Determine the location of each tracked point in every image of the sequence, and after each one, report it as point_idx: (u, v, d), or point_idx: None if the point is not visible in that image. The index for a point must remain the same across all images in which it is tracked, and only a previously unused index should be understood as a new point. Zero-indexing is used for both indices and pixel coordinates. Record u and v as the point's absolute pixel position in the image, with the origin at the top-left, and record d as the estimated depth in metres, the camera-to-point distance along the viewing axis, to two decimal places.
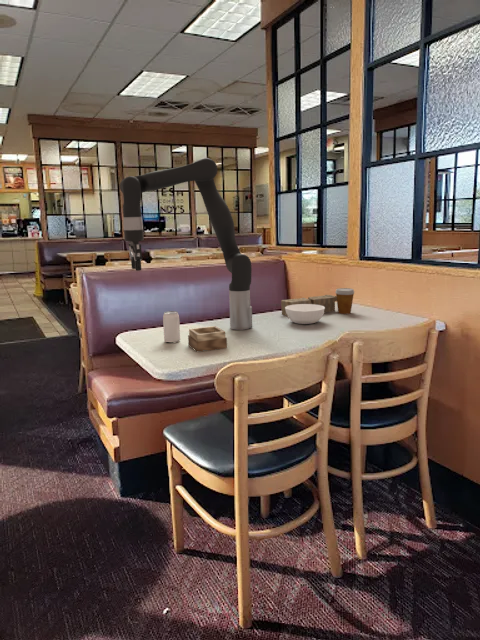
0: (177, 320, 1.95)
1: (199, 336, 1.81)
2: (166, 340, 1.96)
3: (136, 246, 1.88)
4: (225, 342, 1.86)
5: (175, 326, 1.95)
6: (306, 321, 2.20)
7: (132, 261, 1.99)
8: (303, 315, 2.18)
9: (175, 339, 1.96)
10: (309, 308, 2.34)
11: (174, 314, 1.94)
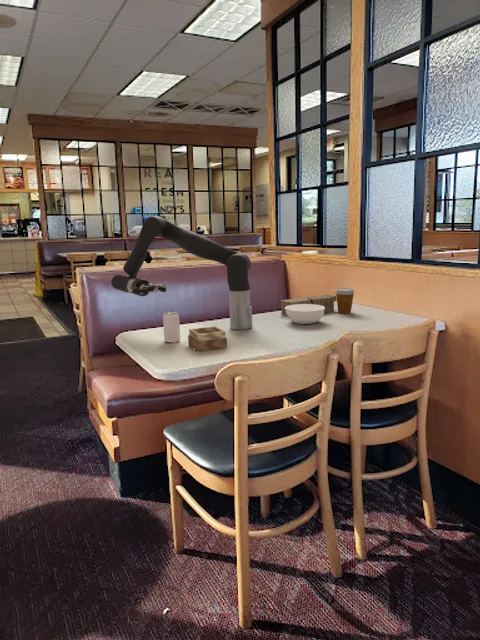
0: (177, 320, 1.95)
1: (199, 336, 1.81)
2: (166, 340, 1.96)
3: (131, 291, 2.07)
4: (225, 342, 1.86)
5: (175, 326, 1.95)
6: (306, 321, 2.20)
7: (161, 290, 2.08)
8: (303, 315, 2.18)
9: (175, 339, 1.96)
10: (309, 308, 2.34)
11: (174, 314, 1.94)
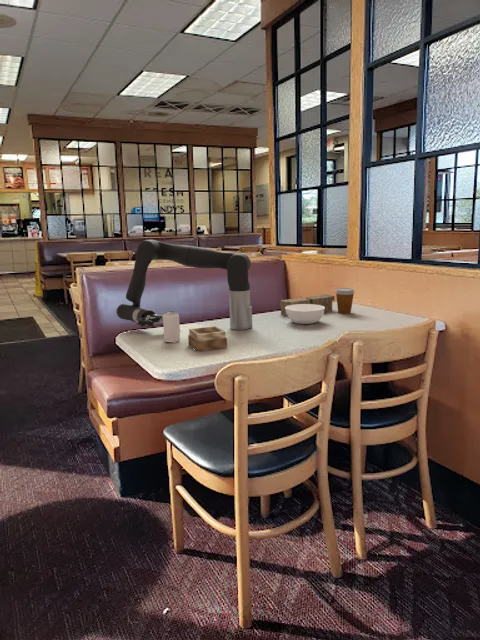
0: (177, 320, 1.95)
1: (199, 336, 1.81)
2: (166, 340, 1.96)
3: (136, 322, 2.07)
4: (225, 342, 1.86)
5: (175, 326, 1.95)
6: (306, 321, 2.20)
7: None
8: (303, 315, 2.18)
9: (175, 339, 1.96)
10: (309, 308, 2.34)
11: (174, 314, 1.94)
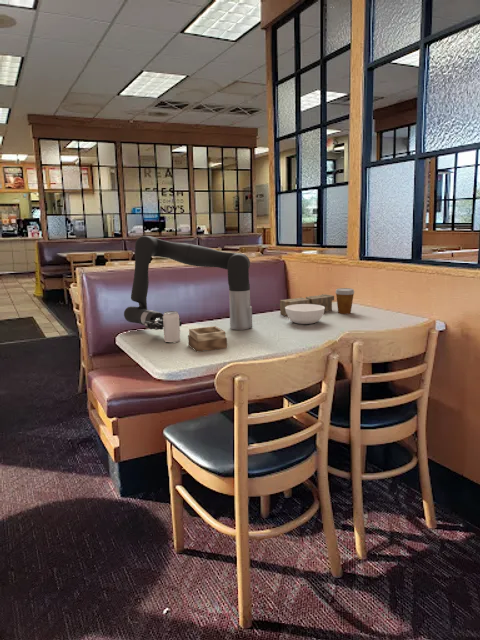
0: (177, 320, 1.95)
1: (199, 336, 1.81)
2: (166, 340, 1.96)
3: (145, 325, 2.01)
4: (225, 342, 1.86)
5: (175, 326, 1.95)
6: (306, 321, 2.20)
7: None
8: (303, 315, 2.18)
9: (175, 339, 1.96)
10: (309, 308, 2.34)
11: (174, 314, 1.94)
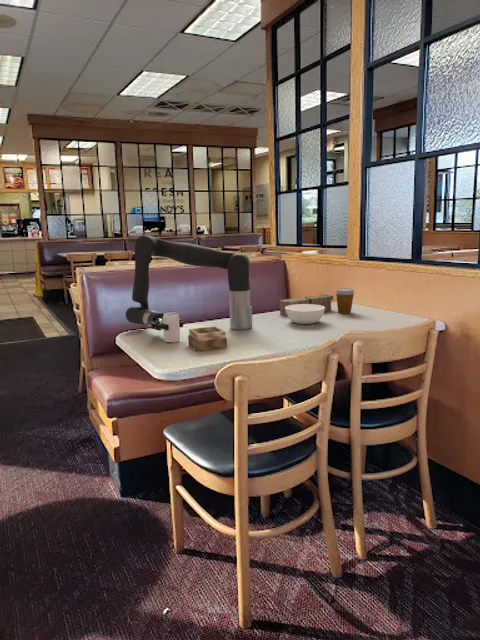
0: (177, 320, 1.95)
1: (199, 336, 1.81)
2: (166, 340, 1.96)
3: (149, 326, 1.99)
4: (225, 342, 1.86)
5: (175, 326, 1.95)
6: (306, 321, 2.20)
7: None
8: (303, 315, 2.18)
9: (175, 339, 1.96)
10: (309, 308, 2.34)
11: (174, 314, 1.94)
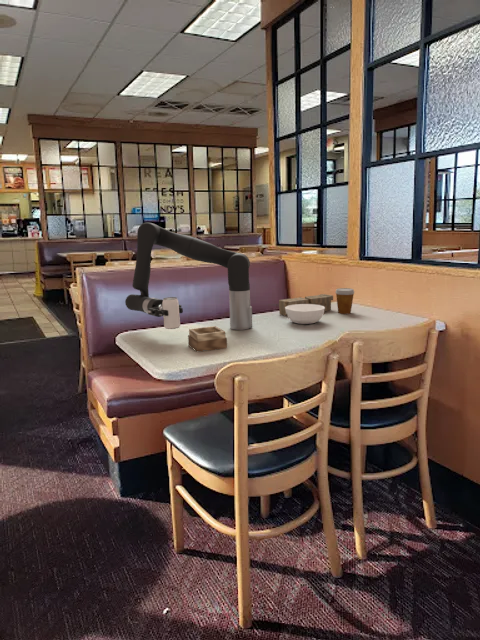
0: (176, 306, 1.94)
1: (199, 336, 1.81)
2: (166, 326, 1.95)
3: (148, 312, 1.98)
4: (225, 342, 1.86)
5: (175, 311, 1.93)
6: (306, 321, 2.20)
7: None
8: (303, 315, 2.18)
9: (175, 325, 1.94)
10: (309, 308, 2.34)
11: (173, 300, 1.93)
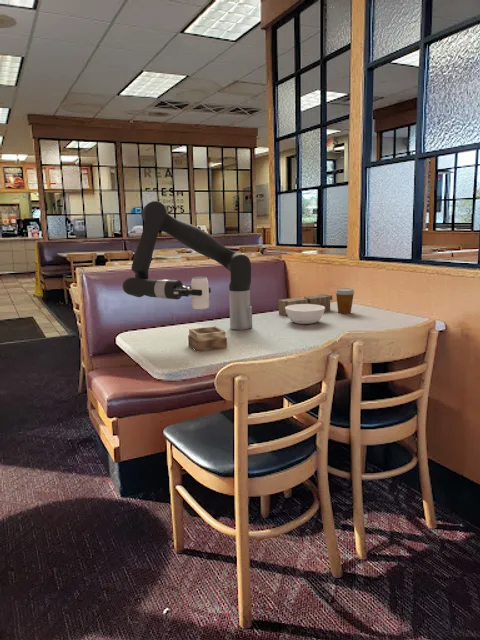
0: None
1: (199, 336, 1.81)
2: (197, 307, 1.83)
3: (175, 294, 1.82)
4: (225, 342, 1.86)
5: (207, 291, 1.84)
6: (306, 321, 2.20)
7: None
8: (303, 315, 2.18)
9: (207, 305, 1.84)
10: (309, 308, 2.34)
11: (206, 278, 1.83)
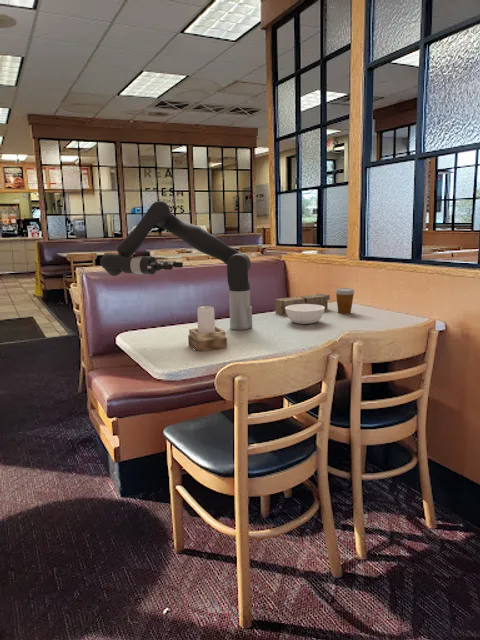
0: None
1: (199, 336, 1.81)
2: None
3: (148, 268, 1.97)
4: (225, 342, 1.86)
5: (213, 319, 1.85)
6: (306, 321, 2.20)
7: (175, 266, 2.05)
8: (303, 315, 2.18)
9: None
10: (309, 308, 2.34)
11: (212, 307, 1.85)
